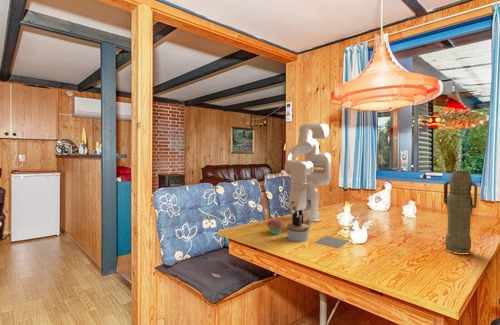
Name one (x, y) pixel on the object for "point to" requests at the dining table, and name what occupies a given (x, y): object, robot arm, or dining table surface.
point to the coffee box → (306, 213)
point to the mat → (332, 241)
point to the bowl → (297, 235)
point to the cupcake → (275, 226)
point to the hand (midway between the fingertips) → (297, 223)
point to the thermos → (459, 211)
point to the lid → (298, 227)
